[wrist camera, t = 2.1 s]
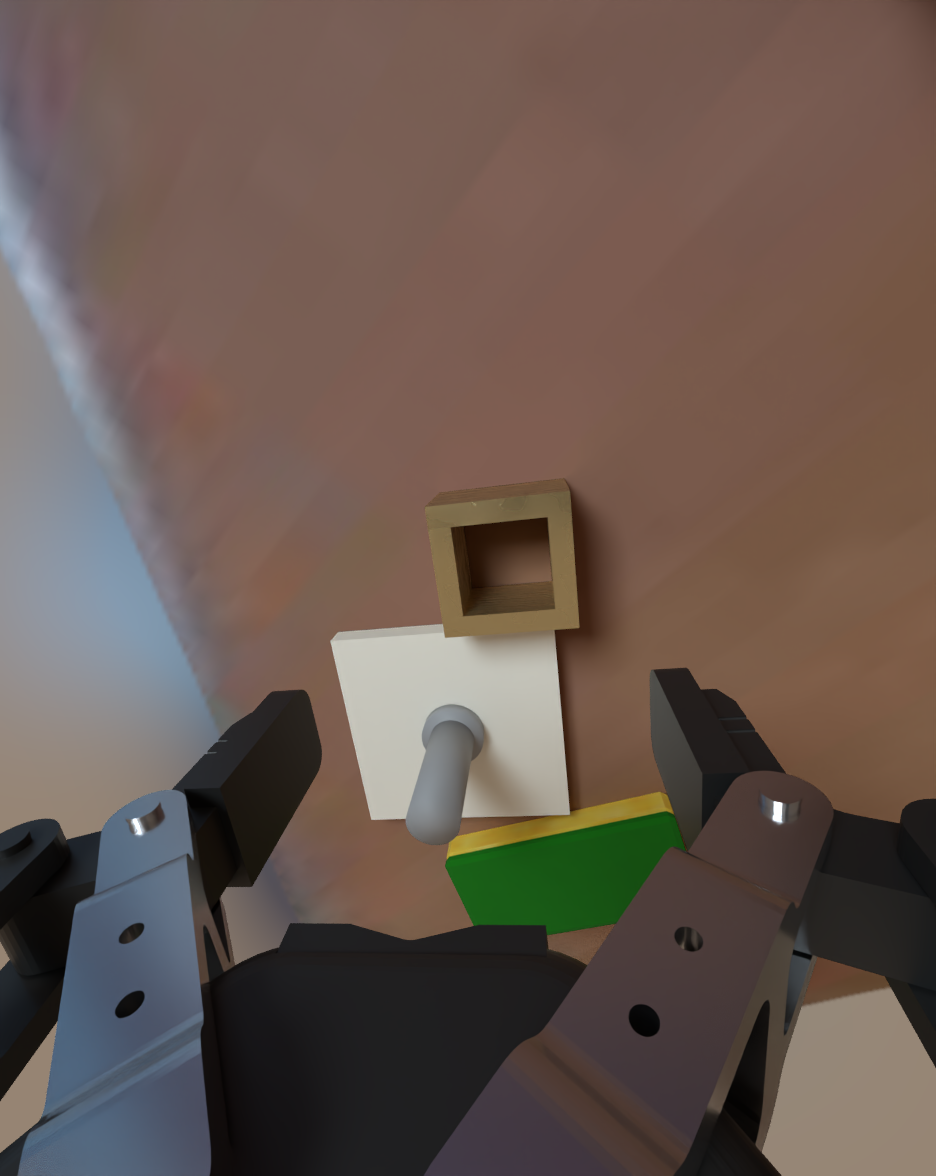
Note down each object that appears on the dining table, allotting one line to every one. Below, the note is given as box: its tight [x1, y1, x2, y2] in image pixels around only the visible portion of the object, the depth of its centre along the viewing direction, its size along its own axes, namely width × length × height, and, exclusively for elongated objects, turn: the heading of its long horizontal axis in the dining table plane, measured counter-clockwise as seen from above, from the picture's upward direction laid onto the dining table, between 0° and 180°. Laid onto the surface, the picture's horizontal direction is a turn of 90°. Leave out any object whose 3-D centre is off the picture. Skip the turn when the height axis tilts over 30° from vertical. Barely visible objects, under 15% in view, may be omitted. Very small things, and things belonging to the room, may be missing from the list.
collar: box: [425, 478, 579, 638], centre depth 25 cm, size 6×6×4 cm
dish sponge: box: [445, 792, 686, 935], centre depth 33 cm, size 7×14×2 cm, turn 111°
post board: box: [331, 624, 570, 845], centre depth 27 cm, size 12×12×8 cm
